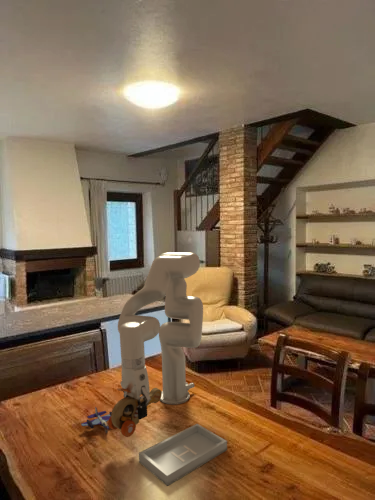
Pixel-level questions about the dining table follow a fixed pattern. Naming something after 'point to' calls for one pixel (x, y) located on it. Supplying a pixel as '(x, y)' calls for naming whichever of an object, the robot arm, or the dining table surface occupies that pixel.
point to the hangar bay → (182, 453)
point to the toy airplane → (98, 419)
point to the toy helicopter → (129, 412)
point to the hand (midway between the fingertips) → (136, 412)
